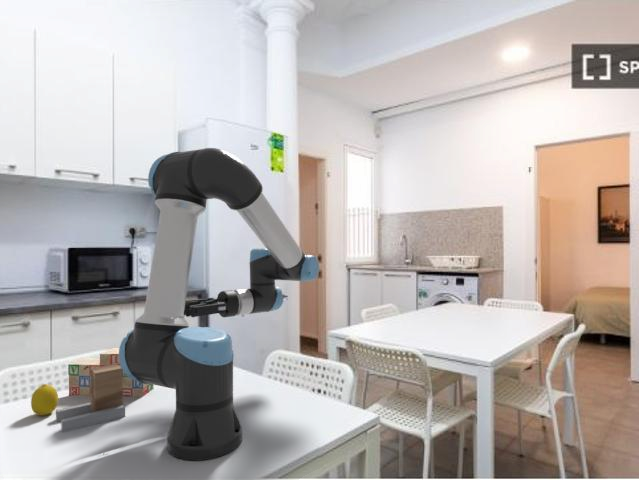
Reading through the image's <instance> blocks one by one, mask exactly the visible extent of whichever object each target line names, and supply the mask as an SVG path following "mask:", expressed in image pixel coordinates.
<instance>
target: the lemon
mask: <svg viewBox="0 0 639 480" xmlns="http://www.w3.org/2000/svg"><path fill="white" fill-rule="evenodd" d="M32 393H33V394H32V395H31V399H30V406H31V409H32V411H33V413H34V414H36V415H38V416H40V417H43V416H47V415H49V414H51V413H53V412H54V411H56V408H57V407H58V403H59V395H58V392H57V390H56V387H54V386H52V385H48V384H46V383H43V384H42V385H41V386H39V387H37V388H36V389H35V390H34V391H33V392H32Z"/></svg>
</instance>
